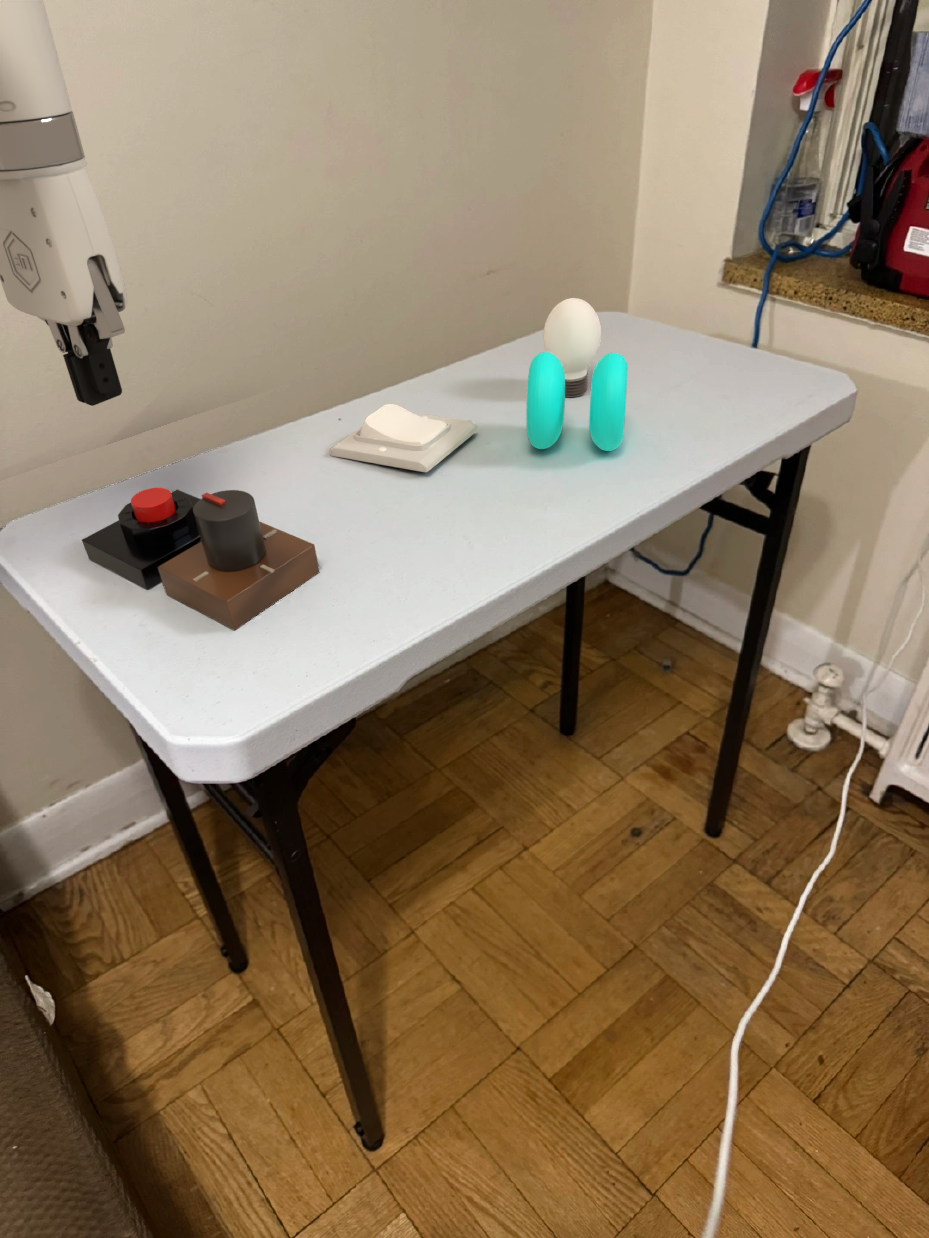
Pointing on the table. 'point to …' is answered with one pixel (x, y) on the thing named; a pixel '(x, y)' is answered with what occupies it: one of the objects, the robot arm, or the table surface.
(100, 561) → the switch block
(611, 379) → the donuts
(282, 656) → the table surface
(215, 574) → the dimmer panel
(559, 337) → the light bulb
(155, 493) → the power button
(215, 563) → the dimmer knob
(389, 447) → the light switch
